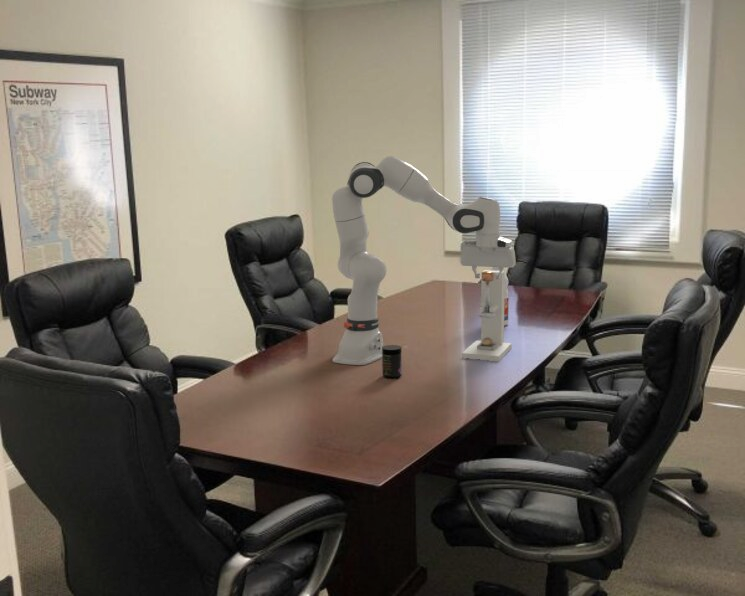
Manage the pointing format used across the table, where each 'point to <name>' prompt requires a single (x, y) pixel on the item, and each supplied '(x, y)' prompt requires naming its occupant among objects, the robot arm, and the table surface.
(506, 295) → the fruit juice
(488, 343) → the walnut
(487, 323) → the press frame
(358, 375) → the table surface
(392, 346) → the supplement container
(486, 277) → the plunger
